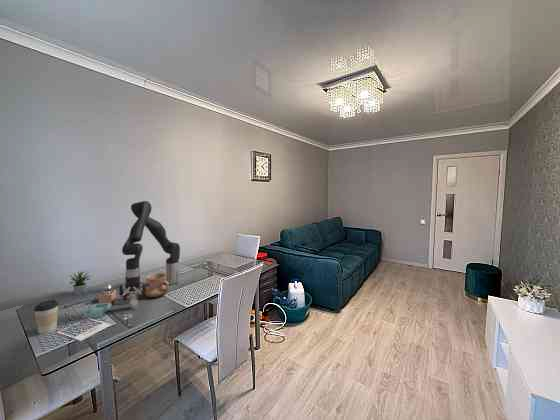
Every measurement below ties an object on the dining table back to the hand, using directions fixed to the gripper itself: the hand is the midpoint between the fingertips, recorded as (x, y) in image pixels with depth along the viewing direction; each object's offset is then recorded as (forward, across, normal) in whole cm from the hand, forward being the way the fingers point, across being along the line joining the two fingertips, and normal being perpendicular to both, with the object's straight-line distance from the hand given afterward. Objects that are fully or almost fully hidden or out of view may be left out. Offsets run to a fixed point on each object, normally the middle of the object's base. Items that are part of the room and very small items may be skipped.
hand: (133, 300), depth 144 cm
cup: (+5, +20, -14) cm, 25 cm away
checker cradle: (+5, +9, -13) cm, 17 cm away
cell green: (+5, 0, 0) cm, 5 cm away
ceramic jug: (+6, -9, -18) cm, 21 cm away
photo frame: (+6, +16, +19) cm, 26 cm away
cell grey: (+5, +20, -14) cm, 25 cm away
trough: (+6, +19, +1) cm, 19 cm away
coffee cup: (+6, +34, +16) cm, 39 cm away
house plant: (+6, +45, -31) cm, 55 cm away
